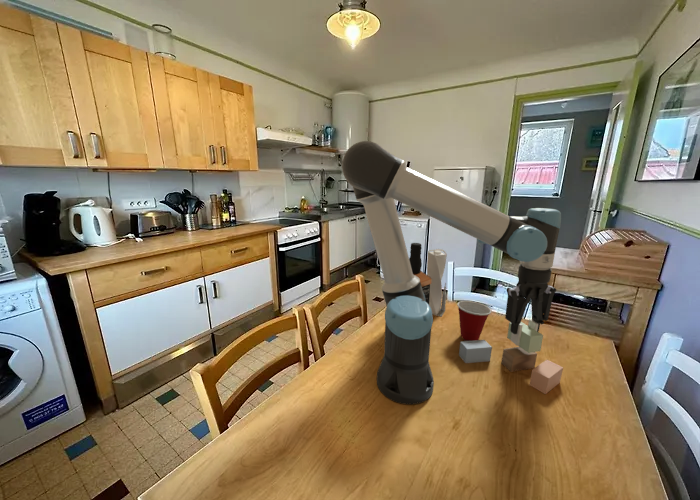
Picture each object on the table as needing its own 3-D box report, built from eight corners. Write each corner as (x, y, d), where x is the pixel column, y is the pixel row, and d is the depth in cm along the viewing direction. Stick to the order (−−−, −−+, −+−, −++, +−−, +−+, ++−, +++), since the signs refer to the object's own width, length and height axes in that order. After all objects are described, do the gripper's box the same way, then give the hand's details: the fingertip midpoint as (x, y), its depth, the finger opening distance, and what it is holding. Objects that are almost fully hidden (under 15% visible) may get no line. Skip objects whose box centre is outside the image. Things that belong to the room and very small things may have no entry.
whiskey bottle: (392, 324, 108) (395, 242, 100) (409, 316, 114) (414, 239, 106) (413, 336, 100) (419, 248, 92) (430, 327, 106) (437, 244, 98)
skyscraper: (440, 319, 113) (446, 251, 105) (420, 314, 117) (425, 248, 109) (445, 310, 120) (451, 246, 112) (426, 306, 124) (431, 243, 116)
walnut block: (511, 372, 82) (513, 357, 81) (501, 363, 86) (503, 349, 85) (534, 368, 84) (537, 353, 83) (523, 359, 88) (526, 345, 86)
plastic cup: (494, 341, 97) (499, 309, 94) (470, 349, 93) (475, 316, 90) (469, 326, 107) (473, 297, 103) (447, 333, 102) (450, 302, 99)
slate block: (465, 363, 86) (467, 349, 85) (458, 355, 90) (460, 341, 89) (489, 361, 87) (492, 347, 86) (482, 353, 91) (484, 339, 90)
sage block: (540, 351, 79) (543, 335, 78) (528, 352, 79) (530, 336, 77) (518, 336, 87) (520, 321, 86) (507, 337, 86) (509, 322, 85)
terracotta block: (545, 394, 74) (548, 378, 73) (529, 385, 77) (532, 369, 76) (559, 383, 78) (563, 367, 77) (543, 374, 81) (547, 359, 80)
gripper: (515, 272, 72) (503, 352, 78) (576, 268, 74) (559, 347, 80) (497, 263, 79) (487, 337, 85) (552, 260, 82) (539, 333, 88)
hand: (522, 342), depth 83 cm, fingers closed on sage block, 4 cm apart
